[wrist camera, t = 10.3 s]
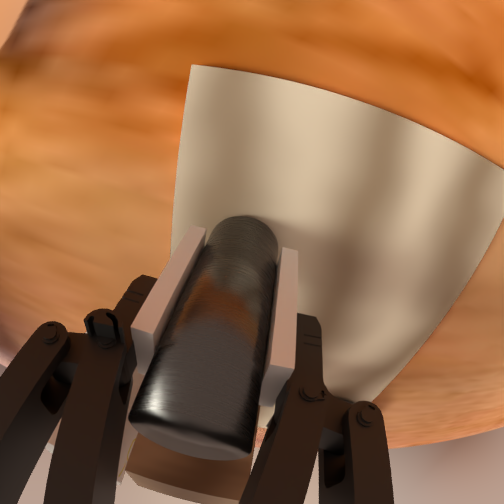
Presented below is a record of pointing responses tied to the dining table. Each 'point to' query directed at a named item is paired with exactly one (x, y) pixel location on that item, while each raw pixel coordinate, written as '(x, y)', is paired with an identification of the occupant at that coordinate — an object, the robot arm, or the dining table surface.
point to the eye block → (328, 232)
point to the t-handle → (213, 349)
